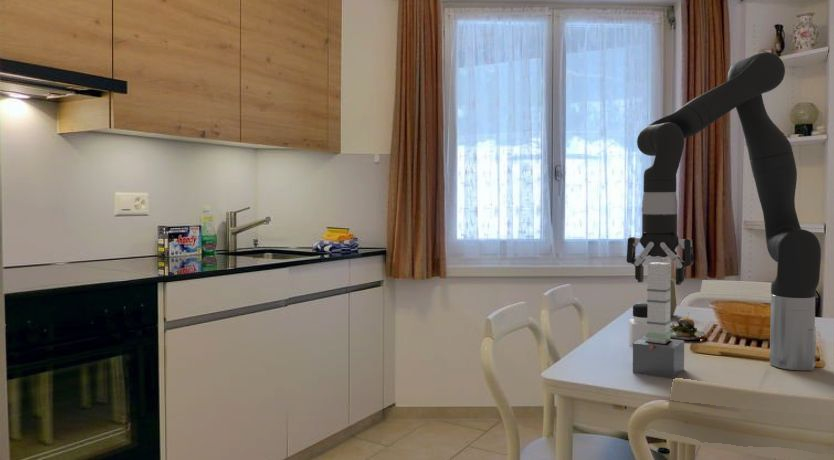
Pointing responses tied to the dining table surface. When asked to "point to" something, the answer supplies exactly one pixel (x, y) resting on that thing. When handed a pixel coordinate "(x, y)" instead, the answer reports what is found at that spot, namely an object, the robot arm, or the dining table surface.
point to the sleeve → (658, 358)
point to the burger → (686, 330)
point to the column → (659, 302)
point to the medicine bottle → (638, 323)
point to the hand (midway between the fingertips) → (659, 283)
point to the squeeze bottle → (672, 299)
